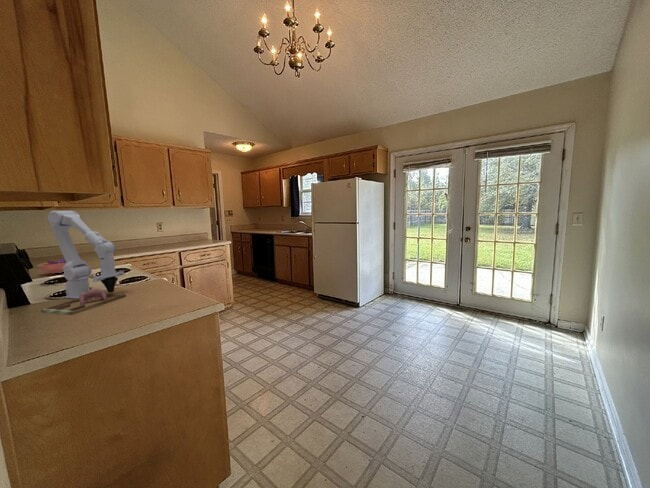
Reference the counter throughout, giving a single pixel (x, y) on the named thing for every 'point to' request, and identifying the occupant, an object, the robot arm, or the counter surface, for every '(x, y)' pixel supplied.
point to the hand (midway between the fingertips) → (110, 292)
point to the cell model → (52, 266)
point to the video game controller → (87, 295)
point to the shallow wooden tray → (80, 308)
